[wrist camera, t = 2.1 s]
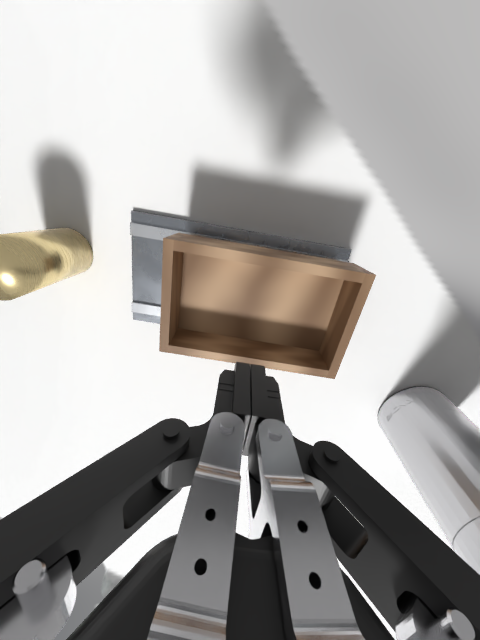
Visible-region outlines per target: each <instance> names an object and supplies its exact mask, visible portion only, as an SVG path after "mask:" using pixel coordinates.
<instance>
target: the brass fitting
mask: <svg viewBox="0 0 480 640" xmlns="http://www.w3.org/2000/svg"><path fill="white" fill-rule="evenodd" d="M92 261H93V252H92V249H91V246H90V244H89V243H88V241H87V240H86V239H85V237H84V236H82V235H81V234H80V233H79V232H77V231H75V230H73V229H70V228H56V229H47V230H37V231H28V232H19V233H9V234H0V300H12V299H15V298H17V297H20V296H23V295H25V294H28V293H30V292H33V291H36V290H38V289H41V288H43V287H46V286H48V285H51V284H54V283H56V282H59V281H61V280H64V279H67V278H69V277H72V276H74V275H77V274H80V273H82V272H85V271H86V270H88V269H89V268H90V266H91V264H92Z"/></svg>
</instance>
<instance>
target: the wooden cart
mask: <svg viewBox="0 0 480 640" xmlns="http://www.w3.org/2000/svg"><path fill="white" fill-rule="evenodd" d="M375 276H376V275H375V274H373V273H371V272H369V271H367V270H365V269H364V268H362V267H360V266H358V265H356V264H354V263H349V262H343V261H338V260H332V259H326V258H321V257H315V256H309V255H304V254H298V253H292V252H286V251H281V250H275V249H269V248H264V247H258V246H252V245H247V244H241V243H235V242H229V241H224V240H218V239H212V238H207V237H201V236H195V235H190V234H184V233H176V234H173V235H170V236H167V237H165V238H163V258H162V288H161V318H160V348H159V351H161V352H167V353H174V354H180V355H186V356H193V357H199V358H205V359H212V360H218V361H225V362H231V363H236V362H242V363H249V364H256V365H262V366H265V368H269V369H275V370H282V371H288V372H294V373H301V374H307V375H313V376H320V377H326V378H332V379H335V377H336V374H337V372H338V369H339V367H340V364H341V362H342V359H343V357H344V354H345V351H346V349H347V346H348V344H349V341H350V339H351V336H352V334H353V331H354V329H355V326H356V324H357V321H358V319H359V316H360V314H361V311H362V309H363V306H364V304H365V301H366V299H367V296H368V294H369V291H370V289H371V286H372V284H373V281H374V279H375Z"/></svg>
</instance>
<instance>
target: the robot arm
mask: <svg viewBox="0 0 480 640" xmlns="http://www.w3.org/2000/svg"><path fill="white" fill-rule="evenodd" d="M279 392H280V391H279V385H278V383H277V382H276V380H275V379H274V377H270V376H266V374H265V366H262V365H256V364H249V363H242V362H236V364H235V369H234V371H231V370H224V371H223V372H222V373H221V375H220V377H219V383H218V389H217V395H216V401H215V407H214V413H213V416H212V418H211V419H210V420H209V421H208V422H206V423H205V424H203V425H200V426H194V427H188V425H187V424H186V423H185V422H184V421H182V420H180V419H175V418H170V419H165V420H163V421H161V422H159V423H157V424H156V425H154V426H152V427H151V428H149V429H148V430H146V431H144V432H143V433H141V434H139V435H138V436H136V437H135V438H133V439H131V440H130V441H128V442H126V443H125V444H123V445H121V446H120V447H118V448H117V449H115V450H113V451H112V452H110V453H108V454H107V455H105V456H104V457H102V458H100V459H99V460H97V461H95V462H94V463H92V464H91V465H89V466H87V467H86V468H84V469H82V470H81V471H79V472H77V473H76V474H74V475H73V476H71V477H69V478H68V479H66V480H64V481H63V482H61V483H60V484H58V485H56V486H55V487H53V488H51V489H50V490H48V491H47V492H45V493H43V494H42V495H40V496H38V497H37V498H35V499H34V500H32V501H30V502H29V503H27V504H25V505H24V506H22V507H20V508H19V509H17V510H16V511H14V512H12V513H11V514H9V515H7V516H6V517H4V518H3V519H1V520H0V640H53V639H54V638H55V637H56V636H57V634H58V633H59V632H60V631H61V629H62V628H63V626H64V625H65V624H66V622H67V620H68V618H69V617H70V615H71V612H72V610H73V607H74V604H75V599H76V586H77V585H78V584H79V583H80V582H81V581H82V580H83V579H85V578H86V577H87V576H88V575H89V574H90V573H91V572H92V571H93V570H94V569H96V568H97V566H99V565H100V564H101V563H102V562H103V561H104V560H105V559H106V558H108V557H109V556H110V555H111V554H112V553H113V552H114V551H115V550H116V549H117V548H118V547H120V546H121V545H122V544H123V543H124V542H125V541H126V540H127V539H128V538H129V537H130V536H132V535H133V534H134V533H135V532H136V531H137V530H138V529H139V528H140V527H141V526H142V525H144V524H145V523H146V522H147V521H148V520H149V519H150V518H151V517H152V516H153V515H155V514H156V513H157V512H158V511H159V510H160V509H161V508H162V507H163V506H164V505H165V504H167V503H168V502H169V501H170V500H171V499H172V498H173V497H174V496H175V495H176V494H177V493H179V491H180V490H181V489H182V487H186V486H190V485H191V488H190V492H189V495H188V499H187V503H186V506H185V510H184V513H183V517H182V521H181V524H180V528H179V531H178V534H176V535H173V536H171V537H169V538H167V539H165V540H163V541H162V542H160V543H159V544H157V545H156V546H155V547H153V548H152V549H151V550H150V551H149V552H147V553H146V554H145V555H144V556H143V557H142V558H141V560H140V561H139V562H138V563H137V564H136V565H135V566H134V567H133V568H132V569H131V570H130V571H129V572H128V574H127V575H126V576H125V577H124V578H123V579H122V580H121V581H120V582H119V583H118V584H117V585H116V587H115V588H114V589H113V590H112V591H111V592H110V593H109V594H108V595H107V596H106V597H105V598H104V599H103V601H102V602H101V603H100V604H99V605H98V606H97V607H96V608H95V609H94V610H93V612H91V614H90V615H89V616H88V617H87V618H86V619H85V620H84V621H83V622H82V624H80V625H79V627H78V628H77V629H76V630H75V631H74V632H73V633H72V634H71V635H70V636H69V637H68V638H67V639H66V640H395V639H394V638H393V637H392V635H391V634H390V633H389V631H388V630H387V629H386V627H385V626H384V625H383V623H382V622H381V621H380V619H379V618H378V616H377V615H376V614H375V612H374V611H373V610H372V608H371V607H370V606H369V604H368V603H367V602H366V600H365V599H364V598H363V596H362V595H361V593H360V592H359V591H358V589H357V588H356V587H355V585H354V584H353V583H352V581H351V580H350V579H349V577H348V576H347V575H346V574H345V573H344V572H343V571H342V570H341V568H340V567H339V564H338V561H337V558H338V560H339V561H340V562H341V563H342V565H343V566H344V567H345V568H346V570H347V571H348V572H349V574H350V575H351V576H352V577H353V579H354V580H355V581H356V582H357V584H358V585H359V586H360V588H361V589H362V590H363V591H364V593H365V594H366V595H367V597H368V598H369V599H370V600H371V602H372V603H373V604H374V605H375V607H376V608H377V609H378V611H379V612H380V613H381V614H382V616H383V617H384V618H385V619H386V621H387V622H388V623H389V625H390V626H391V627H392V628H393V630H394V631H395V632H396V638H397V640H480V429H479V428H478V427H477V426H476V425H475V424H474V423H473V422H472V421H471V420H470V419H469V418H468V417H467V416H466V415H465V414H464V413H463V412H462V411H460V410H459V409H458V408H457V407H456V406H455V405H454V404H453V403H452V402H451V401H450V400H449V399H448V398H447V397H446V396H445V395H444V394H443V393H441V392H440V391H438V390H436V389H433V388H429V387H414V388H409V389H406V390H402V391H400V392H398V393H396V394H394V395H393V396H392V397H390V398H389V399H388V400H387V401H386V402H385V403H384V404H383V405H382V407H381V408H380V411H379V413H378V423H379V425H380V427H381V429H382V430H383V432H384V434H385V435H386V437H387V439H388V440H389V442H390V444H391V445H392V447H393V449H394V451H395V452H396V454H397V456H398V457H399V459H400V461H401V462H402V464H403V466H404V467H405V469H406V471H407V472H408V474H409V476H410V478H411V479H412V481H413V483H414V484H415V486H416V488H417V489H418V491H419V493H420V494H421V496H422V498H423V499H424V501H425V503H426V504H427V506H428V508H429V509H430V511H431V513H432V514H433V516H434V518H435V519H436V521H437V523H438V524H439V526H440V528H441V529H442V531H443V533H444V534H445V536H446V538H447V539H448V541H449V543H450V544H451V546H452V548H453V549H454V551H455V552H456V553H455V552H454V551H453V550H452V549H451V548H450V547H449V546H447V545H446V544H445V543H444V542H443V541H442V540H441V539H440V538H439V537H438V536H436V535H435V534H434V533H433V532H432V531H431V530H430V529H429V528H428V527H427V526H425V525H424V524H423V523H422V522H421V521H420V520H419V519H418V518H417V517H416V516H414V515H413V514H412V513H411V512H410V511H409V510H408V509H407V508H406V507H405V506H403V505H402V504H401V503H400V502H399V501H398V500H397V499H396V498H395V497H394V496H392V495H391V494H390V493H389V492H388V491H387V490H386V489H385V488H384V487H383V486H381V485H380V484H379V483H378V482H377V481H376V480H375V479H374V478H373V477H372V476H370V475H369V474H368V473H367V472H366V471H365V470H364V469H363V468H362V467H361V466H359V465H358V464H357V463H356V462H355V461H354V460H353V459H352V458H351V457H350V456H349V455H347V454H346V453H345V452H344V451H343V450H342V449H341V448H340V447H338V446H337V445H335V444H333V443H331V442H328V441H318V442H316V443H315V444H314V446H312V445H309V444H307V443H305V442H302V441H300V440H298V439H297V438H295V437H294V436H293V435H292V433H291V431H290V429H289V428H288V426H287V425H286V424H285V421H284V415H283V409H282V403H281V400H280V399H281V397H280V393H279ZM242 455H246V456H248V467H247V471H246V480H247V495H248V510H249V535H248V538H246V537H244V536H242V535H240V534H237V533H235V531H236V521H237V512H238V502H239V492H240V481H241V476H240V465H241V456H242ZM335 496H336V497H337V498H338V499H339V500H338V499H337V498H336V497H335ZM342 504H343V505H344V506H345V507H346V508H347V509H348V510H349V511H350V512H351V513H350V512H349V511H348V510H347V509H346V508H345V507H344V506H343V505H342ZM354 517H355V518H356V519H357V520H358V521H359V522H360V523H361V524H362V525H361V524H360V523H359V522H358V521H357V520H356V519H355V518H354ZM336 557H337V558H336Z"/></svg>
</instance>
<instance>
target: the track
mask: <svg viewBox="0 0 480 640" xmlns="http://www.w3.org/2000/svg"><path fill="white" fill-rule="evenodd" d="M176 233H184V234H190V235H195V236H201V237H207V238H212V239H218V240H224V241H229V242H235V243H241V244H247V245H252V246H258V247H264V248H269V249H275V250H281V251H286V252H292V253H298V254H304V255H309V256H315V257H321V258H326V259H332V260H338V261H343V262H349V261H348V259H349V256H350V253H351V249H347V248H341V247H335V246H330V245H324V244H318V243H313V242H307V241H302V240H296V239H290V238H285V237H279V236H273V235H268V234H262V233H256V232H251V231H245V230H240V229H234V228H228V227H223V226H217V225H211V224H206V223H200V222H194V221H189V220H183V219H178V218H172V217H166V216H161V215H155V214H149V213H144V212H138V211H131V223H130V235H132V280H133V302H132V312H133V319H134V320H140V321H146V322H153V323H159V324H160V318H161V288H162V258H163V238H165V237H167V236H170V235H173V234H176Z"/></svg>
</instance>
